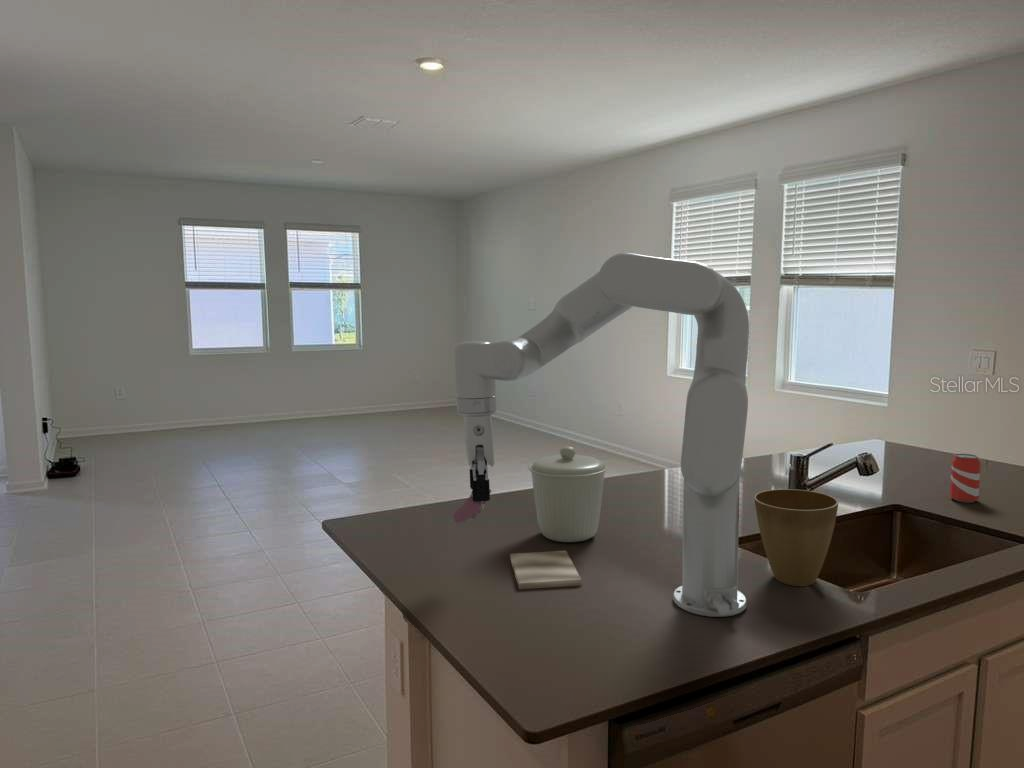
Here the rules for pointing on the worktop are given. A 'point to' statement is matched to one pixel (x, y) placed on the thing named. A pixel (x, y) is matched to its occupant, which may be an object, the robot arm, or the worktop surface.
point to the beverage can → (965, 478)
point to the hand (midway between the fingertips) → (479, 494)
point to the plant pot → (796, 532)
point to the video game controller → (469, 510)
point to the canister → (568, 495)
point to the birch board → (544, 570)
